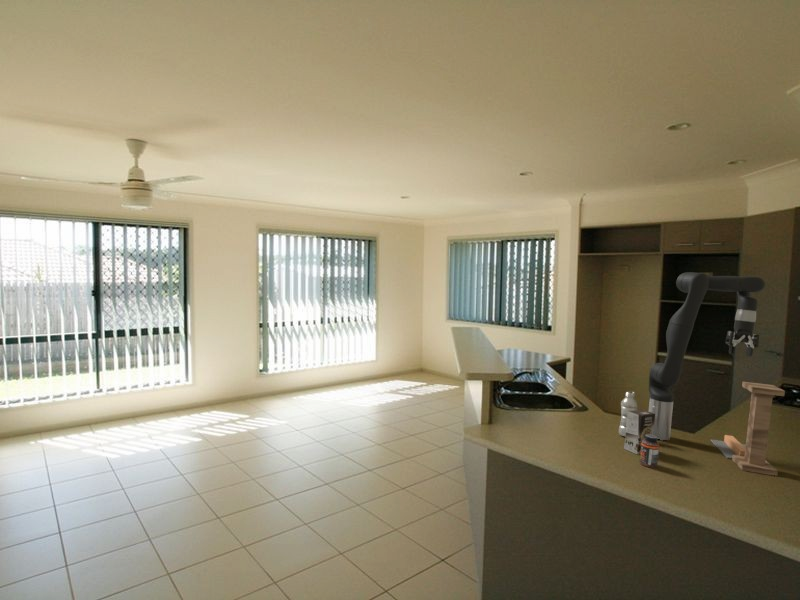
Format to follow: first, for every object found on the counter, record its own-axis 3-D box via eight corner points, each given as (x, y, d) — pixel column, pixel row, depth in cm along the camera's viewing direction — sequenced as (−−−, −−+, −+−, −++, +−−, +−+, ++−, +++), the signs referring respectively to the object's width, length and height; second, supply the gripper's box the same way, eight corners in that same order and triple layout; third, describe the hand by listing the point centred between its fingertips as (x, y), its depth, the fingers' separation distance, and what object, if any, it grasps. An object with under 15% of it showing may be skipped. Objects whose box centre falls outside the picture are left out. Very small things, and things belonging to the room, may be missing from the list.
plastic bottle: (636, 440, 202) (641, 395, 201) (620, 438, 204) (624, 393, 202) (632, 435, 209) (636, 391, 207) (616, 433, 210) (620, 389, 209)
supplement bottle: (636, 461, 178) (638, 432, 177) (650, 461, 179) (653, 433, 178) (645, 468, 172) (648, 438, 171) (660, 468, 173) (663, 438, 172)
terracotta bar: (748, 459, 186) (749, 451, 186) (739, 457, 187) (740, 450, 187) (732, 442, 205) (732, 436, 205) (724, 441, 206) (724, 434, 206)
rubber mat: (768, 465, 183) (768, 463, 182) (727, 458, 187) (727, 457, 187) (747, 445, 203) (747, 444, 203) (710, 440, 208) (710, 439, 208)
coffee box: (637, 455, 185) (641, 415, 184) (623, 449, 191) (627, 410, 190) (652, 452, 189) (656, 413, 188) (637, 446, 195) (641, 408, 194)
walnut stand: (777, 476, 172) (787, 391, 170) (742, 470, 176) (751, 387, 174) (764, 464, 183) (773, 384, 180) (732, 459, 186) (740, 381, 184)
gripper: (737, 319, 206) (732, 355, 207) (766, 322, 208) (761, 358, 208) (724, 317, 214) (719, 352, 214) (752, 321, 215) (747, 355, 216)
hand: (740, 355), depth 211 cm, fingers open, 8 cm apart
